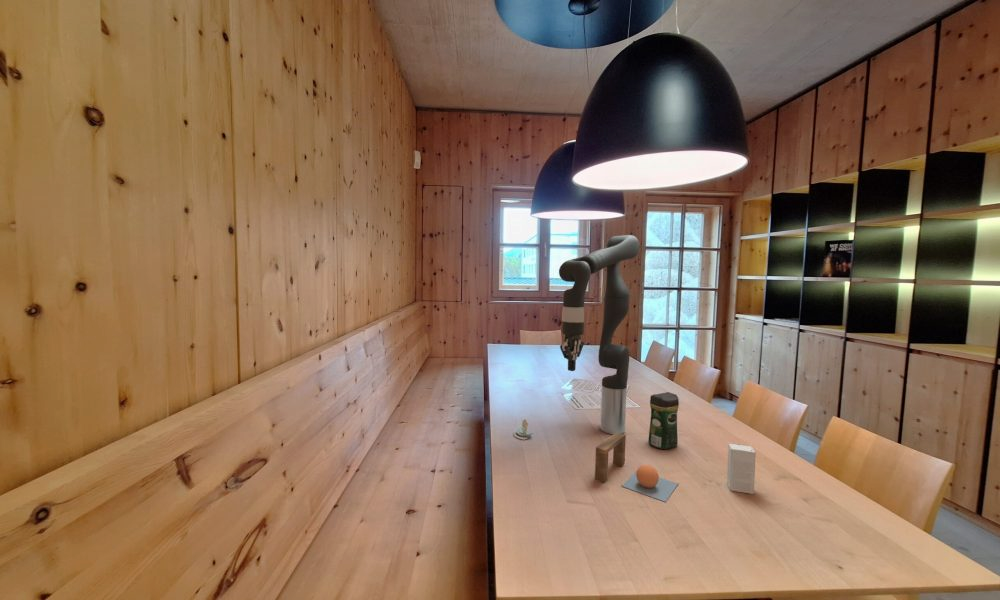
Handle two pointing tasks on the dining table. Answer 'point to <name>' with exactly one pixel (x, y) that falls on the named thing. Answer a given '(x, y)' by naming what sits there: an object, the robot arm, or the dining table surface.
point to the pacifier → (522, 433)
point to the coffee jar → (663, 420)
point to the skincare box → (741, 468)
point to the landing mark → (658, 491)
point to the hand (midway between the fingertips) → (571, 370)
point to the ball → (647, 476)
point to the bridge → (602, 455)
